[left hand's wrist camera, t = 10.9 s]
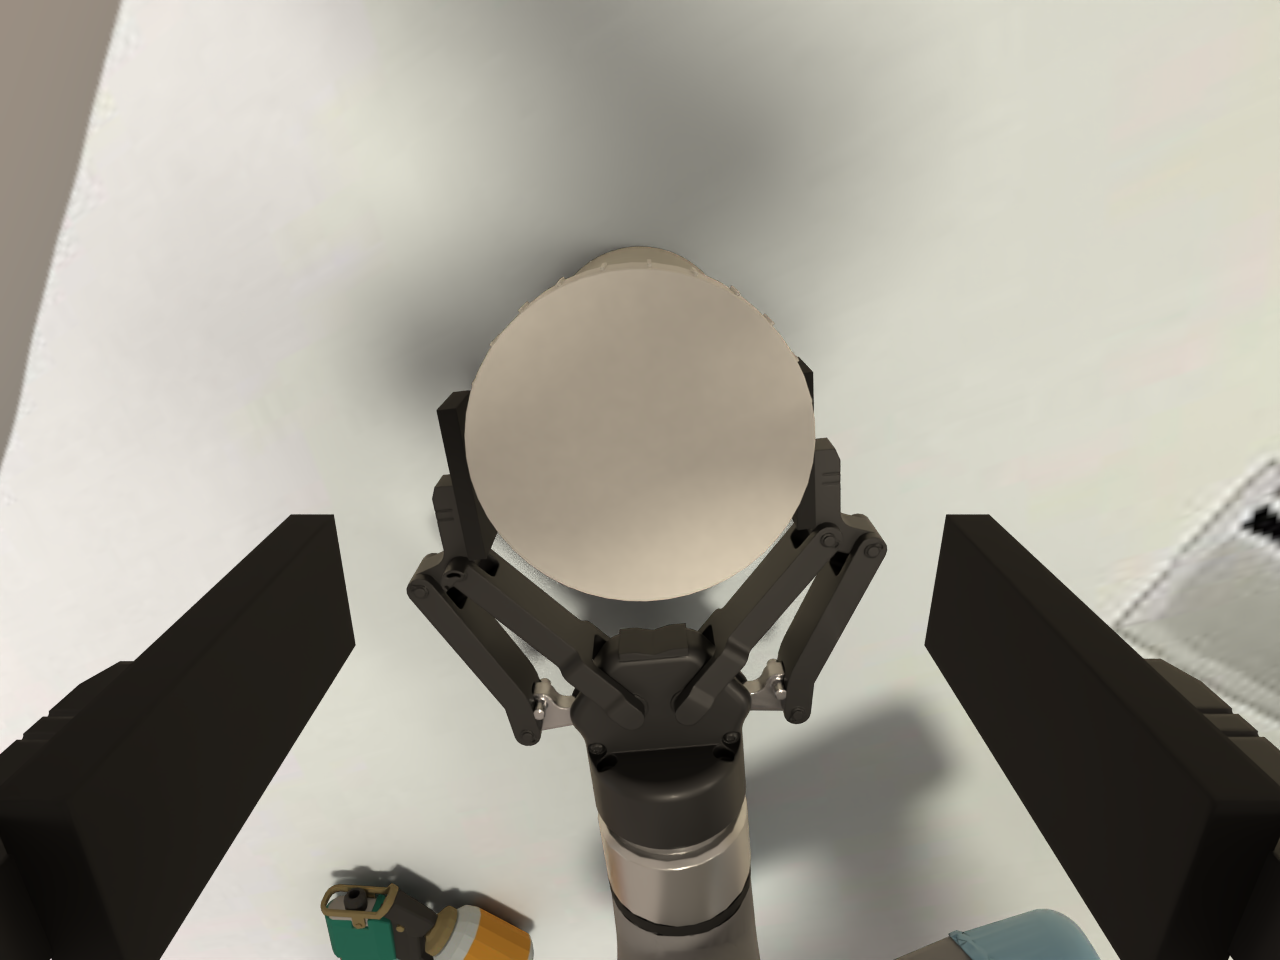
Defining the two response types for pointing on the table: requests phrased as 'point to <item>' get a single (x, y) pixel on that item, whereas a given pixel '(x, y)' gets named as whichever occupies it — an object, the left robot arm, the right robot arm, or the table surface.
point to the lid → (640, 432)
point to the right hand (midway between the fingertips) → (623, 381)
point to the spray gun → (416, 929)
